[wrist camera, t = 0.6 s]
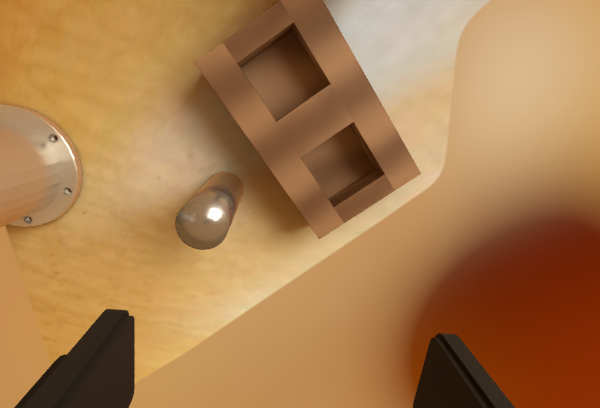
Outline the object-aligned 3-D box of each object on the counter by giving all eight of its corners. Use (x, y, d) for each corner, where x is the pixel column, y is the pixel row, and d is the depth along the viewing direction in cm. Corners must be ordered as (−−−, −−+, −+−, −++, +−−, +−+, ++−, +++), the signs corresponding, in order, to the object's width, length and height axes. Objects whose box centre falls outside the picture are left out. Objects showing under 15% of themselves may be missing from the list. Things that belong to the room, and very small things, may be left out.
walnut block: (403, 165, 38) (421, 173, 33) (314, 223, 39) (319, 239, 35) (305, -4, 33) (310, -23, 28) (206, 69, 34) (194, 63, 29)
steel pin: (221, 213, 38) (197, 258, 27) (199, 185, 37) (164, 219, 26) (250, 194, 38) (238, 231, 26) (228, 164, 37) (206, 190, 25)
